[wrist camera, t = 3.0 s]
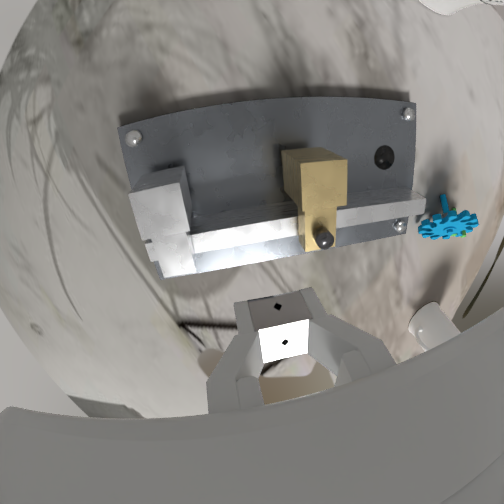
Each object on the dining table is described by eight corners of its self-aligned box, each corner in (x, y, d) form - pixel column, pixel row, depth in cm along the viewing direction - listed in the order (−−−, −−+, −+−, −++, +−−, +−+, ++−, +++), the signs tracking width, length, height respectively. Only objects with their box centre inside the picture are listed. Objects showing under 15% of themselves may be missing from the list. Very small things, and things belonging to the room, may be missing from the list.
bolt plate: (120, 126, 23) (115, 128, 22) (409, 102, 26) (419, 103, 24) (161, 273, 33) (159, 282, 31) (401, 229, 35) (408, 235, 34)
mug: (391, 331, 48) (420, 376, 38) (416, 297, 44) (451, 341, 34) (422, 332, 52) (448, 370, 41) (444, 303, 48) (475, 340, 38)
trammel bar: (137, 172, 25) (116, 197, 19) (409, 141, 27) (451, 157, 21) (157, 245, 29) (147, 286, 23) (404, 204, 32) (440, 230, 26)
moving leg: (277, 147, 26) (301, 164, 19) (315, 144, 26) (349, 160, 20) (283, 224, 30) (304, 260, 24) (317, 218, 30) (345, 252, 24)
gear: (407, 233, 34) (468, 214, 25) (401, 195, 35) (458, 171, 27) (437, 248, 39) (487, 234, 30) (433, 215, 40) (480, 198, 32)
